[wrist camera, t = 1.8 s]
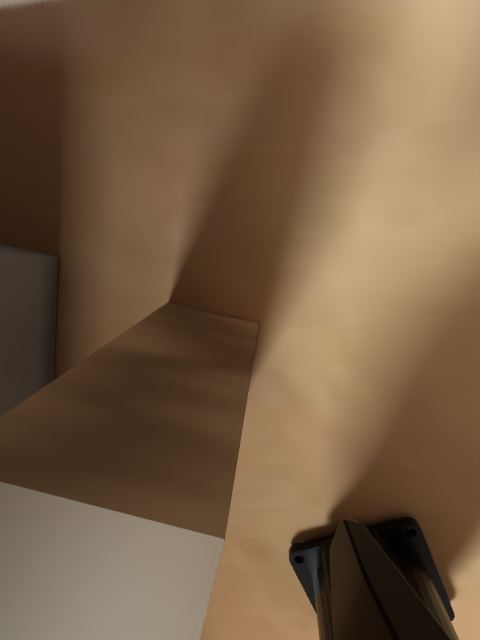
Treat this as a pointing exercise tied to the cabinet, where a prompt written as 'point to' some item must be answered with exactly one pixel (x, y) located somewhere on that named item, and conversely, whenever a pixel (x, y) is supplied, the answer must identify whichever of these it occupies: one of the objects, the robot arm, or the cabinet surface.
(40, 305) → the peg socket
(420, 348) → the cabinet surface
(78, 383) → the walnut peg
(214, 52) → the cabinet surface
